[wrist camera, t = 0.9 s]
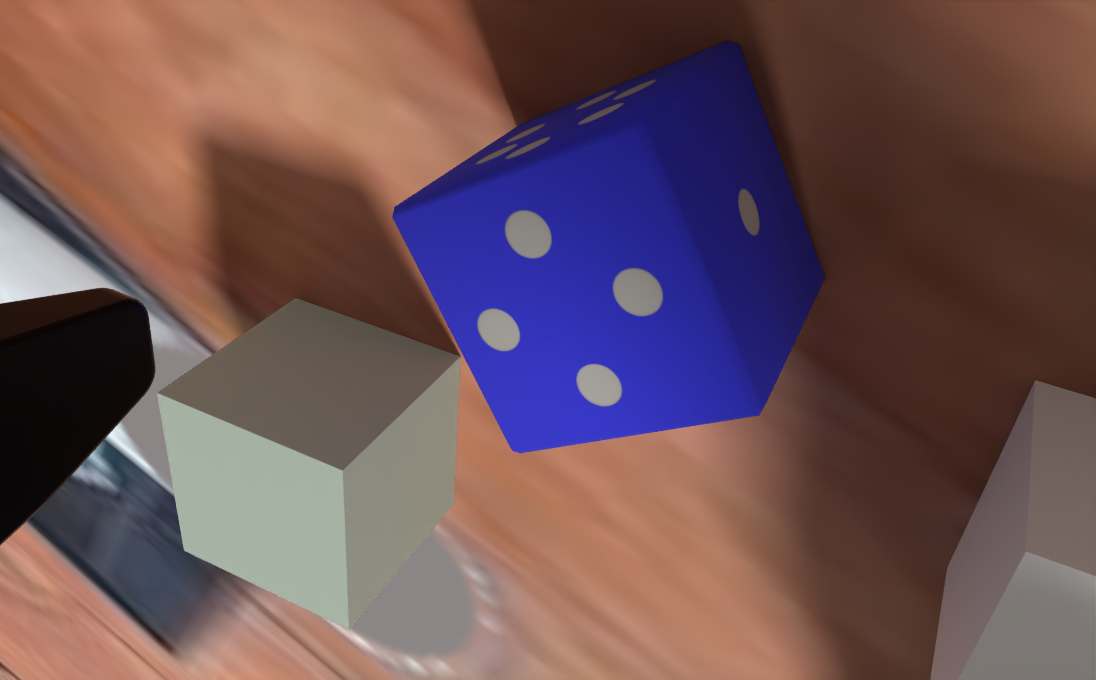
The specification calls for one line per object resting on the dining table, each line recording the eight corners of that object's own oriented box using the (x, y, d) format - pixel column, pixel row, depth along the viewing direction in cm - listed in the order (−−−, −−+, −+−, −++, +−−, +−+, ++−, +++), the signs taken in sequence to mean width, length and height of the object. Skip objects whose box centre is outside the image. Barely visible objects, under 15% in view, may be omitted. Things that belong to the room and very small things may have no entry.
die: (829, 281, 18) (765, 418, 14) (611, 331, 21) (510, 458, 17) (738, 34, 17) (640, 115, 13) (517, 124, 20) (383, 212, 16)
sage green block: (455, 502, 26) (349, 629, 22) (307, 441, 28) (184, 550, 24) (462, 354, 23) (343, 470, 20) (297, 296, 25) (156, 393, 21)
